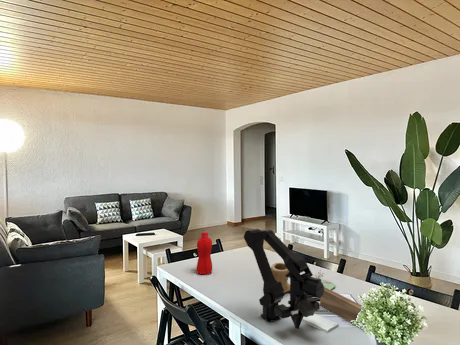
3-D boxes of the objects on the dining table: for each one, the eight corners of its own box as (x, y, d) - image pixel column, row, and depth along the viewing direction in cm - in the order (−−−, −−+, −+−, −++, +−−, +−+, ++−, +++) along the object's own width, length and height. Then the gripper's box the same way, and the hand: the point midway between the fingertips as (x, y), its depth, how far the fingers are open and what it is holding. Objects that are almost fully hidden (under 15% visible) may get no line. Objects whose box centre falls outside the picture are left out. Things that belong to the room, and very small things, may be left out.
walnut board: (366, 331, 120) (366, 311, 120) (320, 305, 143) (320, 288, 143) (371, 330, 121) (371, 310, 121) (324, 303, 145) (325, 287, 145)
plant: (284, 281, 175) (284, 266, 175) (307, 274, 187) (307, 259, 187) (320, 296, 155) (321, 278, 155) (343, 286, 168) (343, 270, 167)
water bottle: (213, 269, 193) (213, 230, 193) (210, 275, 183) (210, 234, 182) (199, 269, 194) (199, 230, 194) (195, 275, 183) (195, 233, 183)
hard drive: (339, 323, 124) (313, 312, 134) (327, 330, 119) (301, 318, 129) (338, 327, 124) (313, 316, 134) (327, 334, 119) (301, 321, 129)
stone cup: (279, 299, 149) (279, 269, 149) (261, 292, 159) (262, 263, 158) (298, 291, 159) (298, 263, 159) (281, 285, 168) (281, 258, 168)
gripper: (290, 302, 110) (290, 345, 110) (329, 293, 118) (329, 333, 118) (273, 291, 120) (273, 330, 120) (310, 283, 128) (310, 320, 128)
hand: (297, 328), depth 121 cm, fingers closed
